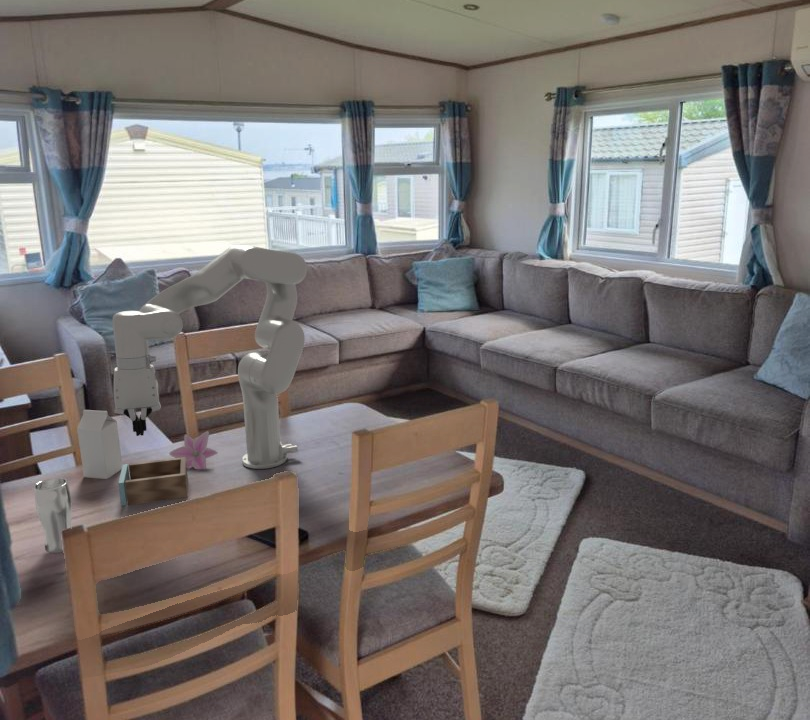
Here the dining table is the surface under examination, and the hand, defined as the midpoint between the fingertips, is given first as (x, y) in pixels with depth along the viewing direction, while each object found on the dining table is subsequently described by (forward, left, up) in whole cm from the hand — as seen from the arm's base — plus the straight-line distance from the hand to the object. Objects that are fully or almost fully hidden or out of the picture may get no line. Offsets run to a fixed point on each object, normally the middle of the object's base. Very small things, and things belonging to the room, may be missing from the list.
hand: (140, 433), depth 171 cm
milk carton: (+12, -17, -17) cm, 27 cm away
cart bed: (-3, 0, -17) cm, 17 cm away
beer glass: (+17, +20, -17) cm, 31 cm away
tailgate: (+4, 0, -16) cm, 17 cm away
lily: (-12, -15, -18) cm, 26 cm away
